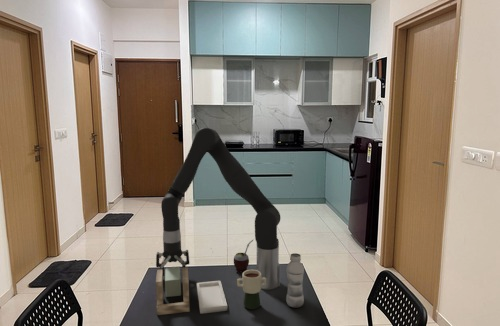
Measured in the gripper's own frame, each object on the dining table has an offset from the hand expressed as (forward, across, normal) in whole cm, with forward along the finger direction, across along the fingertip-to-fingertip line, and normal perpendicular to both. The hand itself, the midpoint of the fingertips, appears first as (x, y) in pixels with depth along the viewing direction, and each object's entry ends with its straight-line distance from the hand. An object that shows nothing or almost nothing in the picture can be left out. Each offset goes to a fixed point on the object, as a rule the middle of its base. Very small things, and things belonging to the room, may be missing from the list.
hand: (173, 274), depth 158 cm
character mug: (+2, -29, +30) cm, 42 cm away
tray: (+2, -14, +21) cm, 26 cm away
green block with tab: (+2, 0, +8) cm, 8 cm away
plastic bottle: (+2, -45, +33) cm, 56 cm away
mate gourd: (+2, -31, 0) cm, 31 cm away
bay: (+2, 0, +23) cm, 23 cm away
